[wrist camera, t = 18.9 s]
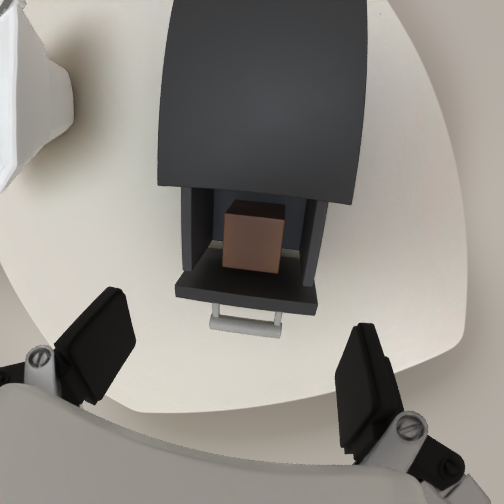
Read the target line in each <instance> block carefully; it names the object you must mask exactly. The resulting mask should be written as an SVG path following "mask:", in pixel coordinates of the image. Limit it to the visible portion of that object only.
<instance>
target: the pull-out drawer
mask: <svg viewBox="0 0 504 504" xmlns="http://www.w3.org/2000/svg"><path fill="white" fill-rule="evenodd" d="M235 199H237V200H248V201H257V202H267V203H275V204H284V205H285V226H284V233H283V241H282V248H284V249H292V250H299V254H300V259H298V258H290V257H281V256H280V264H279V271H278V273H268V272H260V271H252V270H244V269H236V268H229V267H223V266H222V258H223V249H215V248H208V246H209V245H210V243H211V242H212V240H216V241H223V231H224V213H225V212H226V211H227V209H228V208H229V207H230V205H231V204H232V203H233V201H234V200H235ZM327 207H328V202H327V201H320V200H313V199H305V198H297V197H289V196H281V195H272V194H263V193H253V192H243V191H232V190H220V189H207V188H192V187H181V234H182V264H183V270H184V272H183V274H182V275H181V277H180V278H179V280H178V281H177V282H176V284H175V295H176V297H179V298H185V299H191V300H197V301H203V302H210V303H212V310H213V313H212V315H211V317H210V324H209V326H210V329H214V330H221V331H227V332H233V333H240V334H247V335H255V336H263V337H271V338H280V336H281V330H282V323H281V317H282V312H284V313H293V314H302V315H312V316H315V314H316V310H317V306H318V301H317V294H316V288H315V282H314V277H315V272H316V267H317V262H318V257H319V252H320V247H321V242H322V236H323V231H324V225H325V219H326V213H327ZM220 304H223V305H230V306H237V307H244V308H251V309H259V310H267V311H275V312H276V313H275V319H274V322H271V321H263V320H255V319H248V318H241V317H234V316H227V315H220Z"/></svg>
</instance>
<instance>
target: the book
mask: <svg viewBox="0 0 504 504" xmlns="http://www.w3.org/2000/svg"><path fill="white" fill-rule="evenodd" d="M15 4H19V5H20V7H21V8H22V9H23V8H24V7H25V5H26V3H25V1H24V0H0V17H1V16H2V15H3V14H4V13H5V12H6V11H7V10H9V9H10V8H11V7H12V6H14V5H15Z"/></svg>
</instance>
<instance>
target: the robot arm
mask: <svg viewBox="0 0 504 504" xmlns="http://www.w3.org/2000/svg"><path fill="white" fill-rule="evenodd" d="M135 344H136V338H135V334H134V330H133V326H132V322H131V318H130V314H129V309H128V305H127V300H126V296H125V294H124V293H123V291H122V290H121V289H119V288H114V287H108V288H106V289H105V290H104V291H103V292H102V293H101V294H100V295H99V296H98V297H97V298H96V299H95V300H94V301H93V302H92V303H91V305H90V306H89V307H88V308H87V309H86V310H85V311H84V312H83V313H82V314H81V315H80V316H79V317H78V318H77V319H76V320H75V321H74V322H73V324H72V325H71V326H70V327H69V328H68V329H67V330H66V331H65V332H64V333H63V334H62V336H61V337H60V338H59V339H58V340H57V341H56V342H55V343H54V346H55V349H54V350H53V349H52V348H51V347H49V346H47V345H39V346H36V347H34V348H32V349H31V350H30V351H29V352H28V354H27V355H26V359H25V362H22V363H17V364H13V365H9V366H5V367H0V504H491V501H490V499H489V498H488V496H487V495H486V494H485V493H484V492H483V490H482V489H481V488H480V487H479V485H478V484H477V483H476V482H475V481H474V480H473V478H472V477H471V476H470V475H469V474H467V475H465V474H464V472H465V464H464V461H463V459H462V457H461V456H460V455H458V454H457V453H455V452H454V451H452V450H451V449H449V448H447V447H446V446H444V445H443V444H441V443H439V442H438V441H436V440H435V439H433V438H432V437H430V436H429V435H427V433H428V425H427V422H426V420H425V419H424V418H423V416H421V415H420V414H419V413H416V412H414V411H404V408H403V404H402V401H401V397H400V393H399V390H398V386H397V383H396V379H395V376H394V373H393V369H392V366H391V363H390V360H389V358H388V357H387V356H384V353H383V350H382V347H381V344H380V341H379V338H378V335H377V332H376V329H375V326H374V324H372V323H359V324H358V325H357V326H354V327H353V329H352V331H351V334H350V337H349V339H348V342H347V345H346V347H345V350H344V352H343V355H342V357H341V360H340V362H339V365H338V367H337V369H336V372H335V386H336V396H337V408H338V420H339V435H340V446H341V448H344V451H345V454H353V456H354V460H355V462H354V463H353V464H352V465H305V464H288V463H275V462H264V461H255V460H247V459H240V458H235V457H228V456H223V455H218V454H213V453H208V452H204V451H199V450H195V449H190V448H187V447H183V446H179V445H176V444H172V443H169V442H165V441H162V440H159V439H156V438H153V437H149V436H146V435H144V434H141V433H138V432H135V431H132V430H130V429H127V428H125V427H122V426H120V425H117V424H115V423H112V422H110V421H107V420H105V419H103V418H101V417H98V416H96V415H94V414H92V413H90V412H88V411H86V410H83V405H82V403H83V401H84V400H85V401H87V402H88V403H91V404H93V405H96V403H97V402H98V401H100V400H101V399H102V398H103V396H104V395H105V393H106V392H107V390H108V388H109V387H110V385H111V383H112V382H113V380H114V378H115V377H116V375H117V374H118V372H119V370H120V369H121V367H122V366H123V364H124V362H125V361H126V359H127V358H128V356H129V355H130V353H131V351H132V350H133V348H134V347H135Z"/></svg>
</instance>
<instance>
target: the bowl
mask: <svg viewBox="0 0 504 504" xmlns="http://www.w3.org/2000/svg"><path fill="white" fill-rule="evenodd" d="M73 122H74V102H73V91H72V86H71V81H70V78H69V75H68V72H67V71H66V70H64V69H63V68H62V67H60V66H59V65H57V64H56V63H54V62H53V61H51V60H50V59H48V58H47V55H46V51H45V47H44V44H43V43H42V41H41V39H40V38H39V36H38V35H37V33H36V31H35V30H34V28H33V27H32V25H31V23H30V22H29V20H28V18H27V17H26V15H25V13H24V12H23V10H22V8H21V7H20V5H19V4H15V5H14V6H12V7H11V8H10V9H9V10H7V11H6V12H5V13H4V14H3V15H2V16H1V17H0V194H1V193H2V192H3V191H4V190H5V189H6V188H7V187H8V186H9V184H10V183H11V182H12V181H13V180H14V178H15V177H16V176H17V175H18V174H19V173H20V171H21V170H22V169H23V168H24V167H25V166H26V165H27V164H28V163H29V161H30V160H31V159H32V158H33V157H34V156H35V155H36V154H37V153H38V152H39V151H40V149H41V148H42V147H43V146H44V145H45V144H47V143H48V142H50V141H51V140H53V139H55V138H56V137H58V136H59V135H61V134H62V133H64V132H65V131H66V130H67V129H68V128H69V127H70V126H71V125H72V124H73Z"/></svg>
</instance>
